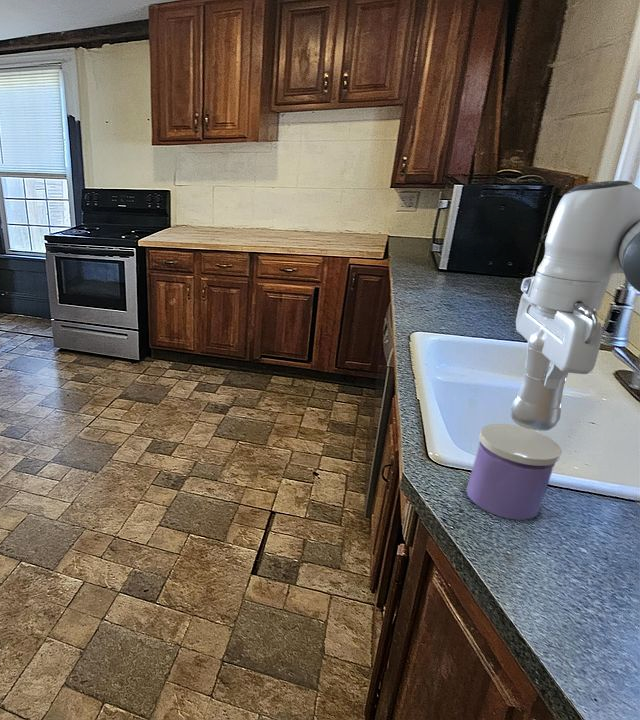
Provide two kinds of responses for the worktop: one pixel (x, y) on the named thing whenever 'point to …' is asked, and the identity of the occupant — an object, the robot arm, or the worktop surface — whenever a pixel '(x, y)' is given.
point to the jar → (512, 470)
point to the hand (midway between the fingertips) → (540, 377)
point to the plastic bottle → (537, 390)
